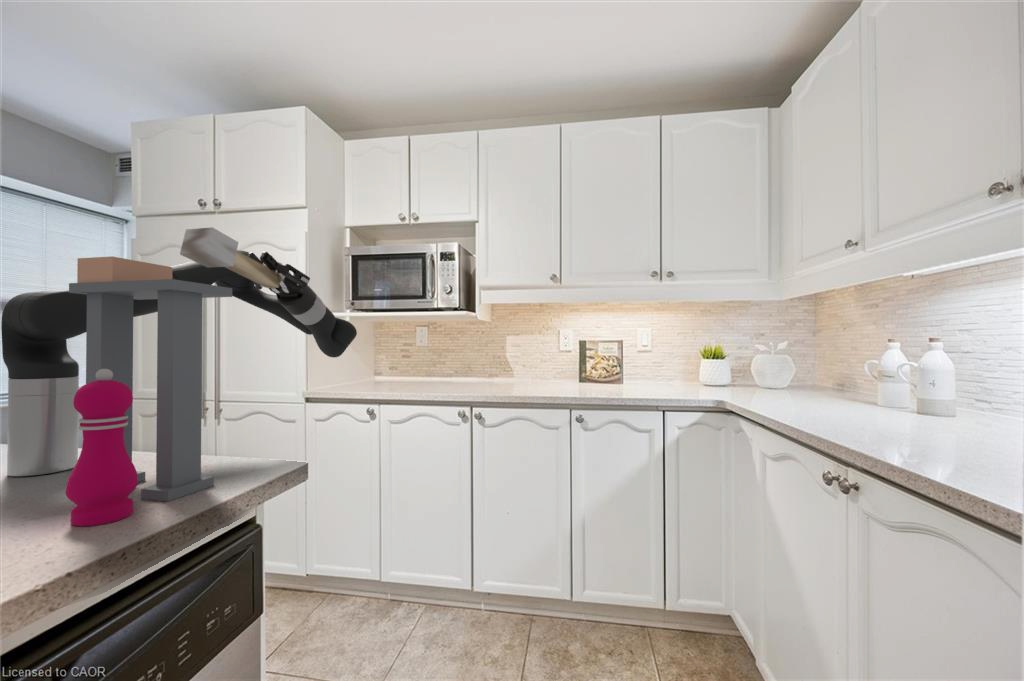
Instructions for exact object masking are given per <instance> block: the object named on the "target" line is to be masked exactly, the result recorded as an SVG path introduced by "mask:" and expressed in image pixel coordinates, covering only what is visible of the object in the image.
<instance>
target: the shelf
mask: <svg viewBox="0 0 1024 681" xmlns="http://www.w3.org/2000/svg"><path fill="white" fill-rule="evenodd" d="M68 290H69V293H77V294H87V328H86V332H85V333H86V334H85V336H86V338H85V340H86V341H85V343H86V345H85V347H86V350H85V352H86V355H85V384H88V383H90V382H94V381H99V380H97V379H96V373H97V371H99V370H100V369H109V370H111V371H112V373H113V377H112V379H111V380H113V381H118V382H121V383H124V384H125V385H127V386H128V387H129V388H130V389H131V391H132V395H133V388H134V386H133V381H134V380H133V379H134V376H133V375H134V371H133V370H134V317H133V299H137V300H144V299H158V312H157V333H156V334H157V336H156V337H157V339H156V342H157V343H156V344H157V345H156V355H157V356H156V357H157V358H156V360H157V361H156V441H155V442H156V443H155V444H156V446H155V447H156V448H155V449H156V456H155V459H156V460H155V461H156V464H155V467H156V468H155V469H156V470H155V471H156V472H155V474H156V475H155V478H156V480H155V484H154V485H151V486H147V487H144V488H141V489H140V500H144V501H145V500H147V501H160V502H171V501H173V500H176V499H179V498H181V497H186V496H188V495H190V494H191V495H192V494H193V493H197V492H199V491H202V490H206V489H208V488H210V487H214V486H215V483H214V482H215V477H214V476H213V475H211V476H210V475H202V395H203V394H202V390H203V389H202V383H203V382H202V381H203V380H202V376H203V373H202V372H203V370H202V369H203V360H202V359H203V298H204V299H209V298H210V299H211V298H232V297H233V296H232V288H227V287H221V286H217V285H215V284H212V285H208V284H201V283H195V282H188V281H182V280H175V279H163V280H138V281H113V282H88V283H77V282H71V283H68ZM133 396H134V395H133ZM124 415H127V416H128V418H127V422H128V425H126V426H124V435H123V436H124V445H125V448H126V451H127V453H128V456H129V458H130V459H131V461H132V462H133V404H132V405H131V406H130V408H129V409H128V410H127V411H126V412H125V414H124ZM136 472H137V477H138V483H141V482H145V481H146V471H143V470H142V471H139V470H136Z"/></svg>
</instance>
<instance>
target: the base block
mask: <svg viewBox="0 0 1024 681" xmlns="http://www.w3.org/2000/svg"><path fill="white" fill-rule="evenodd" d="M76 265H77V269H76V270H77V275H76V276H77V277H76V278H77V279H76V281H77V282H76V283H88V282H113V281H138V280H163V279H172V267H169V265H163V264H156V263H151V262H147V261H146V262H145V261H141V260H140V261H139V260H135V259H128V258H124V257H118V256H114V255H113V256H99V257H98V256H94V257H81V258H77V264H76Z"/></svg>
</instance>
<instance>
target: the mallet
mask: <svg viewBox="0 0 1024 681" xmlns="http://www.w3.org/2000/svg"><path fill="white" fill-rule="evenodd" d="M238 247H239V241H237V240H235V239H233V238H232V237H230V236H229V235H226V234H225V233H223V232H221V231H219V230H218V229H216V228H214V227H202V228H201V227H200V228H199V227H198V228H187V229H185V232H184V236H183V239H182V244H181V247H180V251H179V255H180V256H182V257H185V258H187V259H189V260H191V261H195V262H197V263H199V264H201V265H203V266H205V267H225V268H227V269H229V270H232V271H234V272H236V273H238V274H240V275H242V276H244V277H246V278H248V279H250V280H252V281H254V282H256V283H258V284H260V285H262V286H264V287H263V288H267V289H269V288H279V284H280V282H279V281H278V280H277V277H276V276H275V274H274V273H273V270H270V269H269V268H268V267H266V266H264V265H265V264H264V265H262V264H260V263H258V262H257V261H255V260H253V259H251V258H249V257H248V256H246V255H244V254H242V253H240V252H238V251H237V250H238Z"/></svg>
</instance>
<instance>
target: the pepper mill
mask: <svg viewBox="0 0 1024 681" xmlns="http://www.w3.org/2000/svg"><path fill="white" fill-rule="evenodd" d="M112 377H113V373H112V371H111V370H109V369H100V370H99V371H97V373H96V379H97V380H99V381H94V382H90V383H88V384H86V383H85V384H83V385H82V386H81V387H79V389H78V391H77V392H76V394H75V396H74V401H73V404H74V408H75V409H76V410H77V411H78V414H79V415H81V417H82V418H78V430H80V431H82V447H81V451H80V454H79V456H78V461H77V463H76V465H75V467H74V468H72V471H71V472H70V474H69V476H68V479H67V482H66V488H65V495H66V497H67V499H68V500H69V501H70V502H72V503H73V504H74V505H75V507H73V508H71V510H70V524H71V525H72V526H74V527H83V528H84V527H94V526H95V527H96V526H100V525H106V524H110V523H114V522H117V521H120V520H123V519H126V518H128V517H130V516H131V515H132V514H133V513H134V500H133V498H130V497H129V496H130V495H131V494H132V493H133V492H134V490H136V488H137V486H138V483H139V482H138V477H137V472H136V471H137V469H136V466H135V464H134V463H133V460H132V461H131V459H130V458H129V456H128V453H127V451H126V448H125V445H124V436H123V435H124V426H126V425H128V422H127V418H128V416H127V415H124V414H125V412H126V411H127V410H128V409H129V408H130V406H131V405H132V406H133V402H134V395H132V391H131V389H130V388H129V387H128V386H127V385H125V384H124V383H121V382H118V381H113V380H111V379H112Z"/></svg>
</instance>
